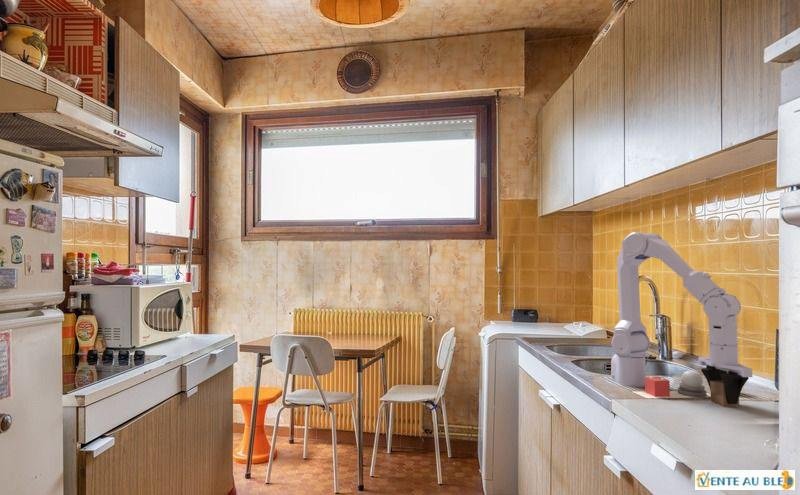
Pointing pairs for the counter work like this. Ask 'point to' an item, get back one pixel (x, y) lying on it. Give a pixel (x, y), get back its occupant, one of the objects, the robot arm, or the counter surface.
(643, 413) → the counter surface
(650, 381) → the die
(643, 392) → the game board
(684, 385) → the dome
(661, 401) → the counter surface
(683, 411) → the counter surface
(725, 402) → the brown block
